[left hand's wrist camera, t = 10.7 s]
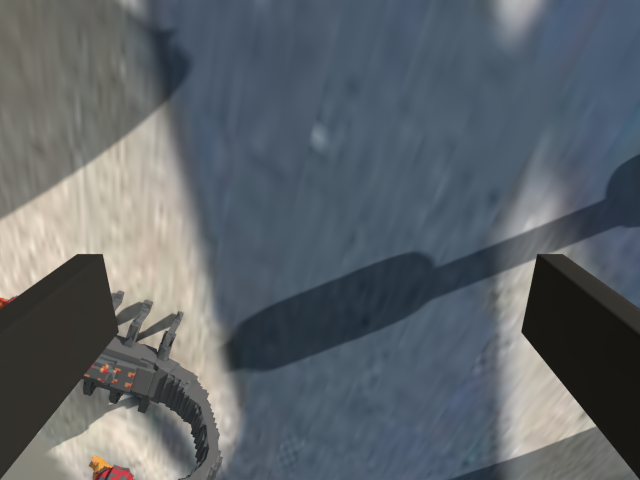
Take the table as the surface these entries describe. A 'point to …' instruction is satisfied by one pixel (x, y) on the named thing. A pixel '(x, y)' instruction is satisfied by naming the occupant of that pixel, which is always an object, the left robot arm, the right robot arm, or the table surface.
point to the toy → (153, 391)
